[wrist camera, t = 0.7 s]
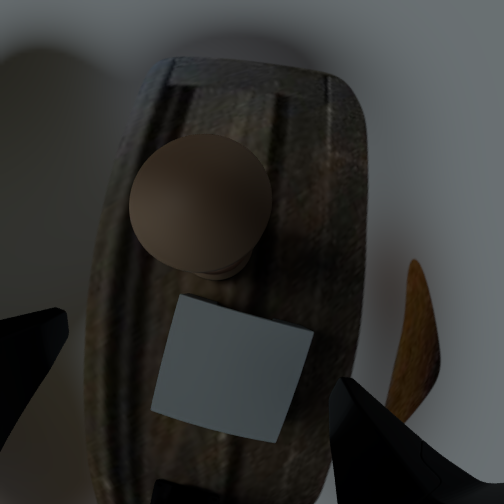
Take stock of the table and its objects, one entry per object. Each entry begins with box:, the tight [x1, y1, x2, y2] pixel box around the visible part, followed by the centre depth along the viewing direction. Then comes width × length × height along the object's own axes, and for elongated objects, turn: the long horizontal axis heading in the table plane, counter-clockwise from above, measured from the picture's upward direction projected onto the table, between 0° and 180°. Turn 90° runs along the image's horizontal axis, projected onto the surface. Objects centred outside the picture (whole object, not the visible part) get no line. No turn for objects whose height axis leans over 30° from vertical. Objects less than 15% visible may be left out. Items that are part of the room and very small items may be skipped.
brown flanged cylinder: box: [129, 134, 272, 280], centre depth 17 cm, size 6×6×12 cm
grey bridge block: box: [151, 293, 314, 443], centre depth 20 cm, size 9×9×4 cm
